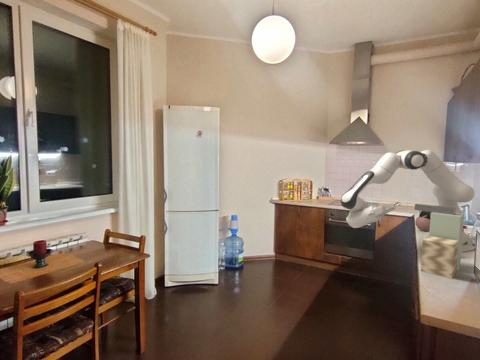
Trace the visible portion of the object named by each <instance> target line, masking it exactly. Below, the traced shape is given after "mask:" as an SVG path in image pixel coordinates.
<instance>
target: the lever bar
mask: <svg viewBox="0 0 480 360" xmlns="http://www.w3.org/2000/svg"><path fill="white" fill-rule="evenodd" d="M414 211H420V212H422V211H428V212H433V213H441V214H449V215H455V214H456V208H455V207H445V206H439V205H432V204H431V205H430V204H424V203H423V204H422V203H415V204H414Z"/></svg>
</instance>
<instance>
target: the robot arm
mask: <svg viewBox="0 0 480 360" xmlns="http://www.w3.org/2000/svg"><path fill="white" fill-rule="evenodd" d="M399 168H402V169H404V170H405V169H406V170H412V171H413V170H418V169H421V170H422V172H423V173H424V174H425V176H426V177H427V178H428V179H429V181H430V182H431V183H432V184H434V186H433V188H432V194H433V195H434V196H435V197H436V200H437V203H438V206H445V207H455V208H456V213H460V214H463V211H462V209H461V208H460V206H459V204H458V203H467V202H468V203H469V202H470V201H472V200H473V198H474V197H475V190H474V187H472V186H471V185H468V184H467V183H465V182H464V181H463V180H461V179H460V178H459V177H458V176H456V175H455V174H454V173H453V172H452V171H451V170H450V169H449V168H448V167H447V165H446V164H445V163H444V161H443V160H442V159H441V158H440V157H439V156H438V155H437V154H436V153H435V152H434V151H433V150H431V149H424V150H422V151H420V150H419V151H418V150H411V149H406V150H400V151H399V150H398V151H397V152H395V153H394V152H392V151H391V152H386V153H385V154H384V155H383V156H382V157H380V159H379V160H378V161H377V162H376V164H375V165H374V166H373V167H372V168H371V169H370V170H368V171H365V172H364V173H363V174H362V175H361V176H360V177H359V178H358V179H357V181H355V183H354V184H353V185H352V186H351V187H350V188H349V189H348V190H346V191H345V192H344V193H343V194H342V195H341V197H340V205H341V207H343V208H344V209H347V210H349V213H348V215H347V216H346V218H345V221H346V223H347V224H348V225H349V227H351V228H353V229H358V228H361V227H364V226H366V225H368V224H372V223H374V222H375V223H376V222H377V221H380V220H381V219H382V218H383V217H385V215H387V214H389V213H391V212H393V211H394V210H396V208H398V206H401V205H402V204H401V202H399V201H398V202H395V203H393V202H392V203H388V204H384V205H380V206H379V205H374V204H372V205H370V206H369V204H368V202H367V201H366V200H364V198H361V196H360V194H361V193H362V192H363V191H364V190H365V189H366V187H367V186H369V185H371V184H379V185H382V184H385V183H387V182H388V181H389V180H390V179H391V178H392V177H393V175H394V174H395V172H396V171H397V170H399ZM468 227H469V226H468V225H465V224H463V235H462V248H461V253H463V252H469V251H475V250H476V249H475V247H476V245H473V239H472V237H471V236H469V234H468V233H466V232H465V230H467V229H468ZM464 229H465V230H464ZM474 249H475V250H474Z"/></svg>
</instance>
